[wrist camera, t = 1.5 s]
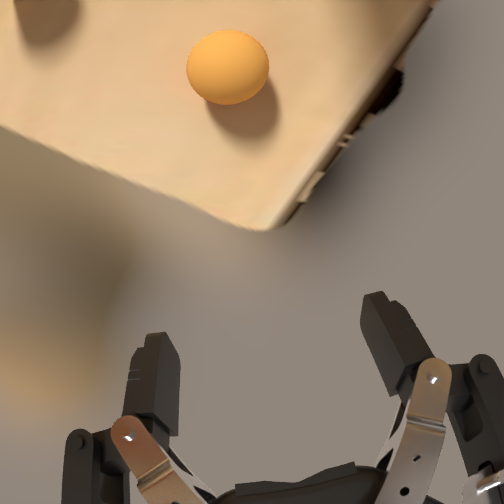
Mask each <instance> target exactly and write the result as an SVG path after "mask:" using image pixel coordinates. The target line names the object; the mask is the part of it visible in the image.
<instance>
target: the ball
mask: <svg viewBox="0 0 504 504" xmlns="http://www.w3.org/2000/svg"><path fill="white" fill-rule="evenodd" d="M268 73H269V60H268V56H267V54H266V51H265V50H264V48H263V46H262V45H261V44H260V43H259V42H258V41H257V40H256V39H255V38H253V37H252V36H250V35H248V34H246V33H243V32H240V31H235V30H223V31H218V32H214V33H212V34H209V35H207V36H206V37H204V38H203V39H201V40H200V41H199V42H198V43H197V44H196V45H195V46H194V47H193V49H192V51H191V52H190V55H189V57H188V60H187V76H188V80H189V82H190V84H191V86H192V87H193V89H194V90H195V91H196V92H197V93H198V94H199V95H200V96H201V97H203V98H204V99H206V100H208V101H210V102H213V103H217V104H223V105H231V104H237V103H241V102H243V101H246V100H248V99H250V98H251V97H253V96H254V95H255V94H256V93H258V92H259V91H260V89H261V88H262V87H263V85H264V84H265V82H266V80H267V77H268Z"/></svg>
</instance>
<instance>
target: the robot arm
mask: <svg viewBox="0 0 504 504" xmlns="http://www.w3.org/2000/svg"><path fill="white" fill-rule="evenodd" d="M360 326H361V331H362V333H363V336H364V338H365V340H366V342H367V345H368V347H369V349H370V351H371V353H372V356H373V358H374V360H375V363H376V365H377V367H378V369H379V372H380V374H381V376H382V379H383V381H384V383H385V386H386V388H387V391H388V393H389V396H390V397H391V396H394V395H397V394H399V397H400V399H401V400H400V403H399V406H398V409H397V412H396V415H395V418H394V421H393V424H392V427H391V430H390V432H389V435H388V438H387V440H386V442H385V444H384V446H383V448H382V450H381V452H380V454H379V456H378V459H377V461H376V463H375V465H374V467H370V466H355V463H354V462H351V463H348V464H344V465H340V466H337V467H333V468H329V469H325V470H323V471H321V472H319V473H317V474H315V475H313V476H311V477H308V478H306V479H304V480H302V481H300V482H296V483H288V482H272V481H260V482H251V483H242V484H235V489H232V490H230V491H228V492H225V493H224V494H222V495H220V496H219V497H218V496H217V495H216V494H215V493H213V491H212V490H211V489H210V488H209V487H208V486H207V485H205V484H204V483H203V482H202V481H201V480H200V479H199V478H197V477H196V475H195V474H194V473H193V472H192V471H191V470H190V469H189V468H188V467H187V465H186V464H185V463H184V462H183V461H182V460H181V458H180V457H179V456H178V455H177V454H176V453H175V451H174V450H173V449H172V448H171V446H170V445H169V436H178V415H179V387H180V359H179V355H178V353H177V351H176V350H175V348H174V346H173V344H172V342H171V340H170V339H169V337H168V335H167V333H166V332H160V333H151V334H147V335H146V338H145V343H144V347H141V348H137V350H136V352H135V353H134V355H133V357H132V358H131V363H130V372H129V375H128V381H127V387H126V394H125V399H124V406H123V412H122V416H121V417H120V418H118V419H117V420H116V421H115V422H114V424H113V425H112V427H111V428H109V429H106V430H103V431H100V432H96V433H92V434H91V433H89V432H88V431H86V430H84V429H77V430H74V431H72V432H71V433H70V434H69V436H68V438H67V440H66V446H65V455H64V465H63V479H62V501H61V502H62V503H61V504H130V486H129V472H130V471H132V473H133V474H134V476H135V477H136V479H137V481H138V484H137V488H138V490H139V492H140V493H141V495H142V496H143V497H144V499H145V500H146V501H147V503H148V504H443V503H442V502H440V501H438V500H436V499H434V498H432V497H430V496H428V495H426V494H427V492H428V489H429V486H430V483H431V481H432V478H433V475H434V472H435V469H436V466H437V462H438V459H439V456H440V452H441V449H442V445H443V441H444V438H445V433H446V427H445V426H444V425H443V419H444V415H445V412H447V414H448V416H449V419H450V422H451V425H452V427H453V430H454V433H455V436H456V438H457V442H458V444H459V448H460V450H461V454H462V457H463V460H464V463H465V467H466V470H467V473H468V477H469V478H468V479H467V480H466V482H465V484H464V487H463V491H462V495H463V502H462V504H504V378H503V376H502V374H501V372H500V370H499V368H498V366H497V364H496V363H495V361H494V360H493V359H492V358H491V357H490V356H488V355H485V354H478V355H476V356H474V357H473V358H472V360H471V361H470V362H469V363H467V364H455V365H450V364H447V363H446V362H445V361H443V360H441V359H439V358H436V357H435V356H434V355H433V353H432V352H431V350H430V348H429V346H428V345H427V343H426V341H425V339H424V338H423V336H422V334H421V333H420V331H419V329H418V328H417V327H416V324H415V323H414V321H413V319H411V316H410V314H409V313H408V311H407V310H406V308H405V307H404V306H402V305H401V304H400V303H398V302H397V301H396V300H395V301H391V302H390V301H389V300H388V298H387V296H386V295H385V293H384V292H383V291H379V292H375V293H371V294H367V295H365V296H364V298H363V305H362V311H361V318H360Z"/></svg>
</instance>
